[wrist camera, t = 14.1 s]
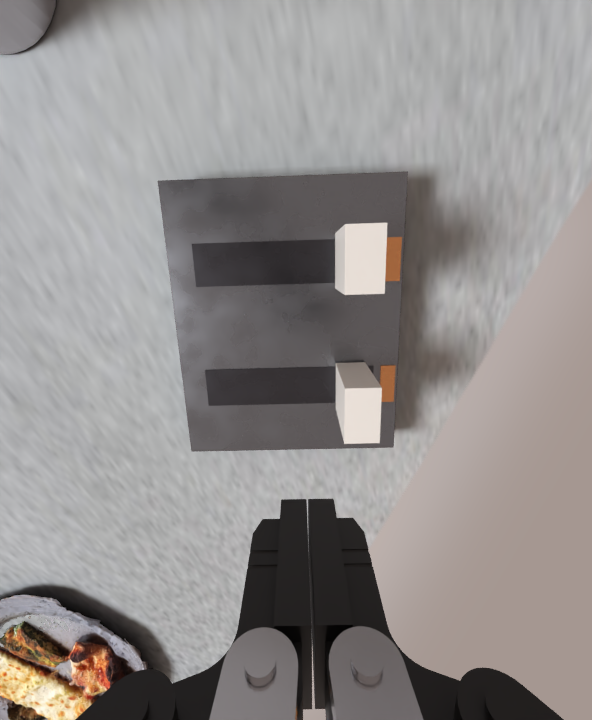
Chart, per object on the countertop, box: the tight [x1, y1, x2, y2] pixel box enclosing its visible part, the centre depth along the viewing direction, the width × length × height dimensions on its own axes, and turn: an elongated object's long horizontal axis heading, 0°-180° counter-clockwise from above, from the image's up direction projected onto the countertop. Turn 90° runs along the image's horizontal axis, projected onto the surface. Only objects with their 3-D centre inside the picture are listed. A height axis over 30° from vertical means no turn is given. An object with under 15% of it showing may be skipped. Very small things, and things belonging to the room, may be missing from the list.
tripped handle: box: [336, 362, 382, 444], centre depth 26 cm, size 2×4×6 cm, turn 2°
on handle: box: [335, 223, 387, 295], centre depth 23 cm, size 2×4×6 cm, turn 2°
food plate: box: [0, 595, 153, 720], centre depth 41 cm, size 25×23×4 cm
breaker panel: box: [158, 172, 408, 451], centre depth 29 cm, size 18×22×3 cm
